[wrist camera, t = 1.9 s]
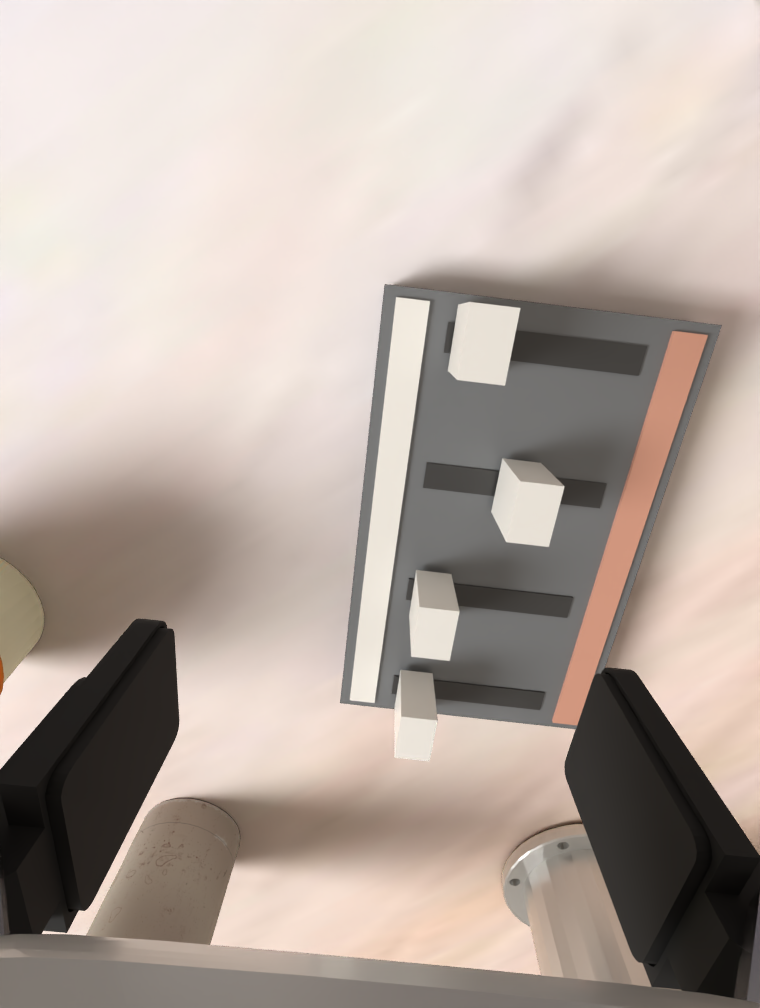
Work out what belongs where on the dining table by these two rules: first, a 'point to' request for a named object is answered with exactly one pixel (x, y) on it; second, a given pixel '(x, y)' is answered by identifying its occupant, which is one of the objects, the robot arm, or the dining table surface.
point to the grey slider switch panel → (470, 494)
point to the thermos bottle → (172, 876)
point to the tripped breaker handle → (526, 502)
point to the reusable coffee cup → (17, 619)
